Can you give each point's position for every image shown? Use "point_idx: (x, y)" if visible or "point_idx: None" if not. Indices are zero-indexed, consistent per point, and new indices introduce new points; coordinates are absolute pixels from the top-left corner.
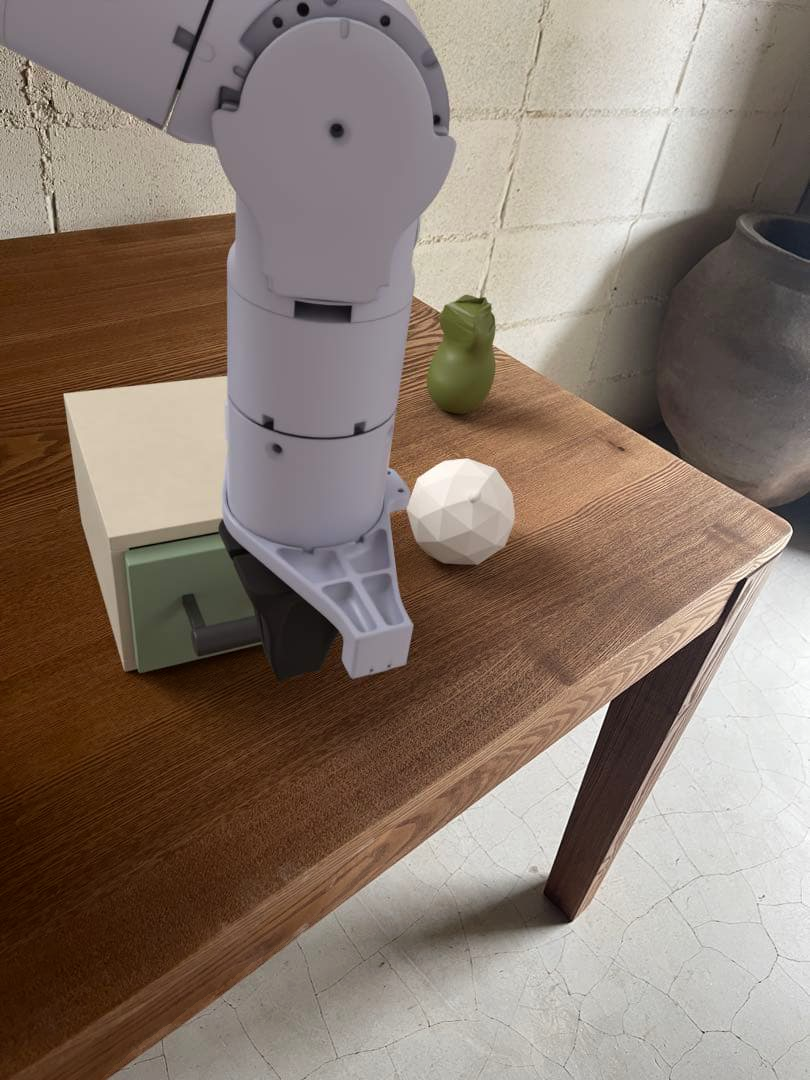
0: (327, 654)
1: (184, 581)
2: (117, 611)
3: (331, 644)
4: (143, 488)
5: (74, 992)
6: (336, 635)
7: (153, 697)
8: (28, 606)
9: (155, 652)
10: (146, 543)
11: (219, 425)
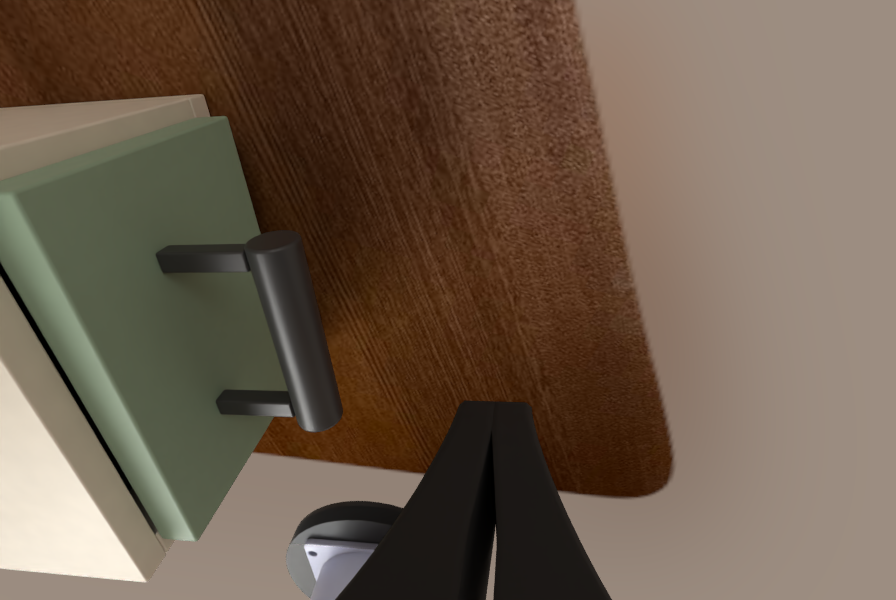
0: (529, 424)
1: (202, 433)
2: None
3: (545, 463)
4: (1, 523)
5: (644, 466)
6: (558, 495)
7: (329, 350)
8: None
9: (282, 377)
10: (142, 520)
11: None
